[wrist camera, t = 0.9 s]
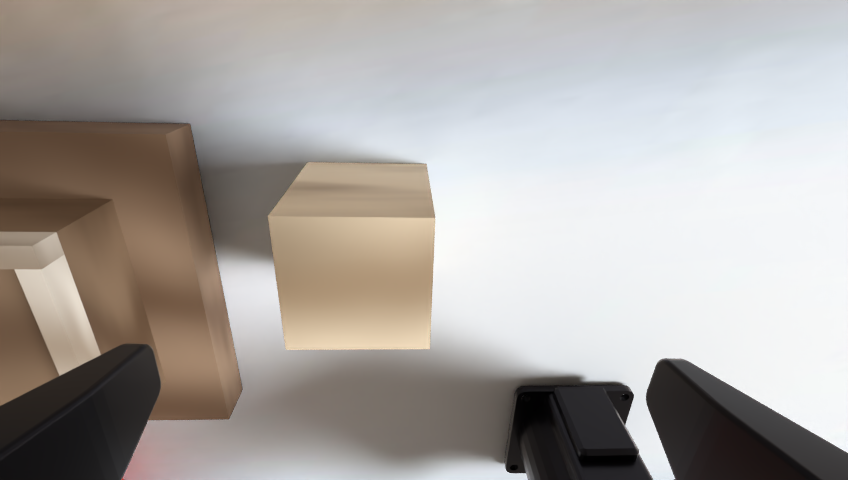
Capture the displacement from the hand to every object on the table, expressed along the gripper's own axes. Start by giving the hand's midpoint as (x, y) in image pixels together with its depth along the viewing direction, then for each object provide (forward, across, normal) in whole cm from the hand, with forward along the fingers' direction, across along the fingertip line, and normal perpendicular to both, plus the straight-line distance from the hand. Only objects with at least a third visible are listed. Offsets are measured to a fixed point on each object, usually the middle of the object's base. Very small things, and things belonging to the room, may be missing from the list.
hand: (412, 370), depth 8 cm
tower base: (+12, +16, +6) cm, 20 cm away
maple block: (+12, +2, +2) cm, 12 cm away
